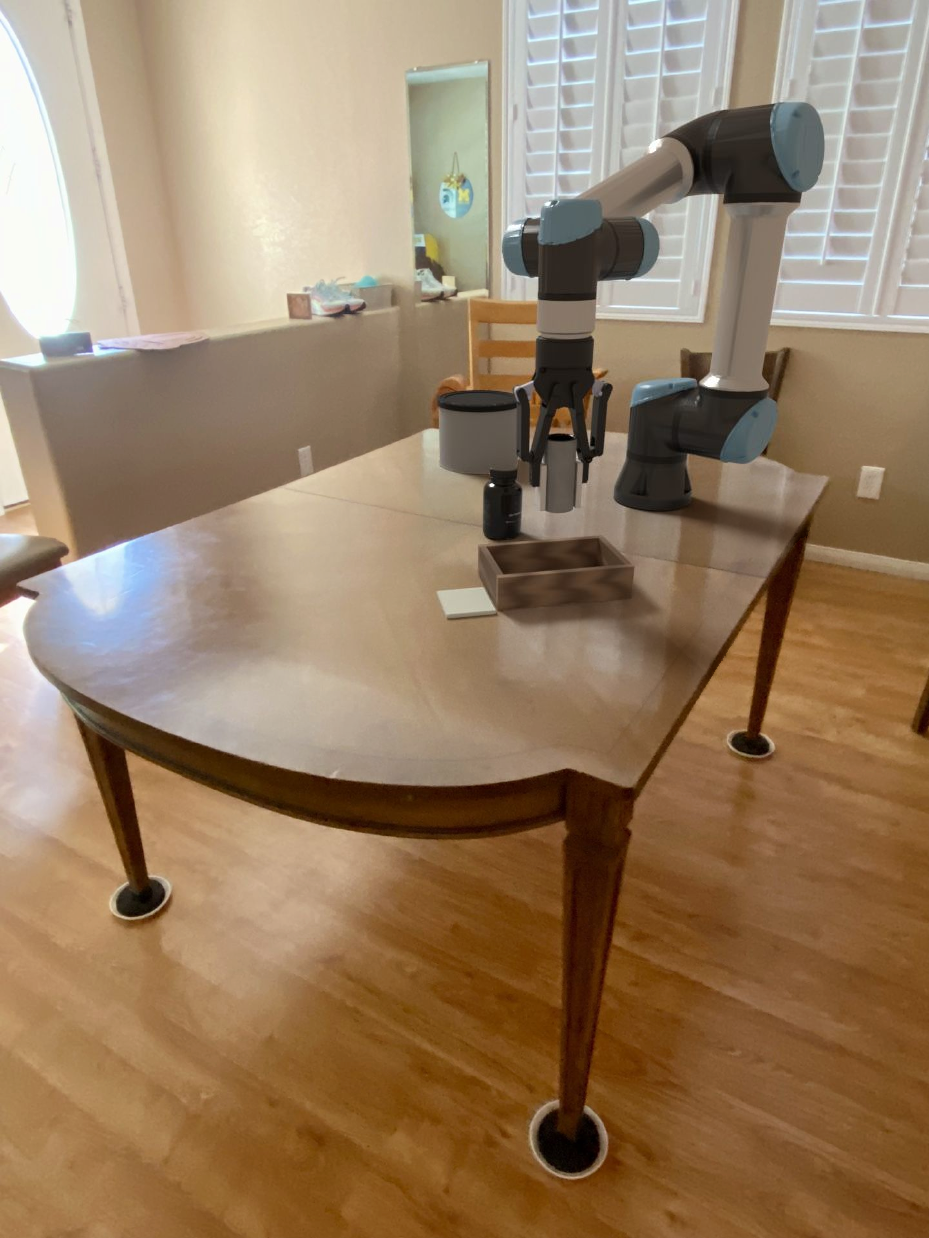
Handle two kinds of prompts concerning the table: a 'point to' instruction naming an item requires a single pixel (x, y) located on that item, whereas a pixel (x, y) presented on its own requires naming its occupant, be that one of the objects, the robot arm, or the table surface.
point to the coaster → (465, 602)
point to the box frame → (554, 572)
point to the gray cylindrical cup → (560, 472)
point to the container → (477, 430)
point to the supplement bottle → (502, 503)
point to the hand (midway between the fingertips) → (557, 506)
